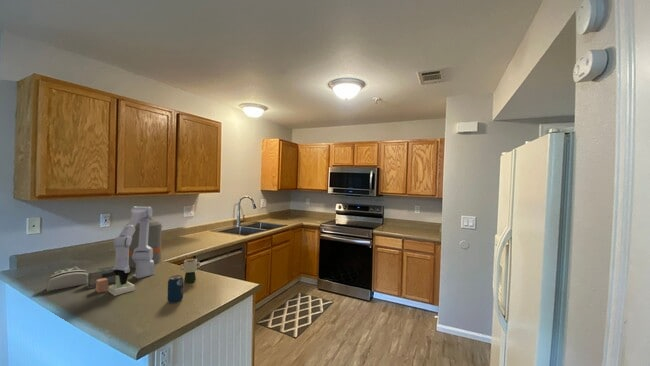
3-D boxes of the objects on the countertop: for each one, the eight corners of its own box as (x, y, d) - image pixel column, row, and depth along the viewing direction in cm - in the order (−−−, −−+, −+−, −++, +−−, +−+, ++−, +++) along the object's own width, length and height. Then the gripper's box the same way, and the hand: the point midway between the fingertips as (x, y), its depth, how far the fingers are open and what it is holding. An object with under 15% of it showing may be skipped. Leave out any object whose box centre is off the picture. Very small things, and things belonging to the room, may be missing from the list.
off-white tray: (127, 286, 152) (127, 281, 152) (134, 290, 147) (134, 285, 147) (108, 291, 144) (108, 286, 144) (114, 295, 139) (114, 290, 139)
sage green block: (124, 284, 148) (124, 273, 148) (127, 286, 146) (127, 275, 146) (115, 286, 145) (115, 275, 145) (118, 288, 143) (118, 277, 143)
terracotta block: (104, 288, 148) (105, 277, 148) (107, 290, 146) (108, 279, 146) (95, 291, 145) (96, 280, 145) (98, 292, 142) (98, 281, 142)
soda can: (185, 300, 136) (185, 277, 136) (170, 305, 131) (170, 280, 131) (179, 296, 141) (180, 273, 141) (165, 300, 135) (165, 277, 135)
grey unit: (122, 276, 166) (123, 263, 166) (127, 278, 163) (127, 264, 163) (85, 285, 151) (85, 270, 151) (88, 288, 148) (89, 273, 148)
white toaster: (49, 269, 159) (80, 263, 173) (48, 278, 160) (79, 271, 174) (60, 280, 154) (92, 272, 167) (59, 289, 154) (90, 281, 168)
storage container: (123, 269, 178) (125, 217, 178) (124, 261, 196) (125, 213, 196) (162, 264, 192) (164, 215, 191) (160, 256, 210) (161, 212, 209)
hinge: (87, 280, 158) (88, 266, 156) (88, 285, 155) (89, 270, 153) (46, 288, 146) (47, 272, 144) (46, 293, 143) (47, 278, 141)
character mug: (199, 278, 167) (199, 257, 166) (200, 282, 161) (201, 260, 161) (179, 281, 161) (179, 260, 161) (180, 285, 155) (180, 263, 155)
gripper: (107, 257, 146) (107, 282, 146) (118, 262, 138) (118, 288, 138) (123, 254, 152) (122, 278, 152) (134, 259, 144) (133, 284, 144)
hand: (121, 283), depth 145 cm, fingers closed on sage green block, 4 cm apart
